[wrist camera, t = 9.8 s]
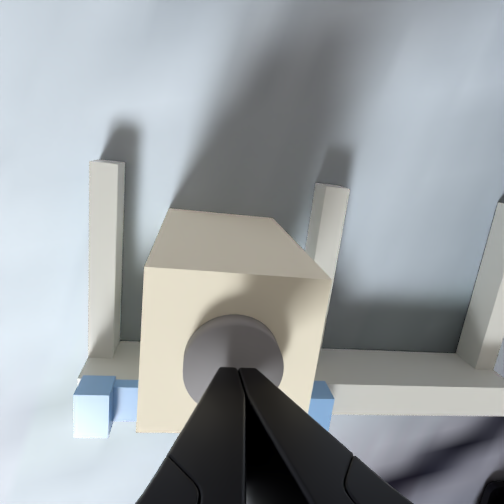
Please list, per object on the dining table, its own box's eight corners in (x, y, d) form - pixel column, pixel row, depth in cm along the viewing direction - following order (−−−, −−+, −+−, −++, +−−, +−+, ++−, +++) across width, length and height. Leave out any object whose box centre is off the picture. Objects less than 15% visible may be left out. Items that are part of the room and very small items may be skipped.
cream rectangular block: (272, 218, 17) (341, 288, 9) (259, 311, 18) (310, 449, 10) (168, 208, 16) (140, 275, 8) (162, 306, 18) (132, 450, 9)
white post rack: (516, 204, 19) (604, 221, 15) (464, 381, 21) (527, 437, 17) (99, 159, 16) (65, 165, 12) (96, 371, 18) (67, 437, 14)
